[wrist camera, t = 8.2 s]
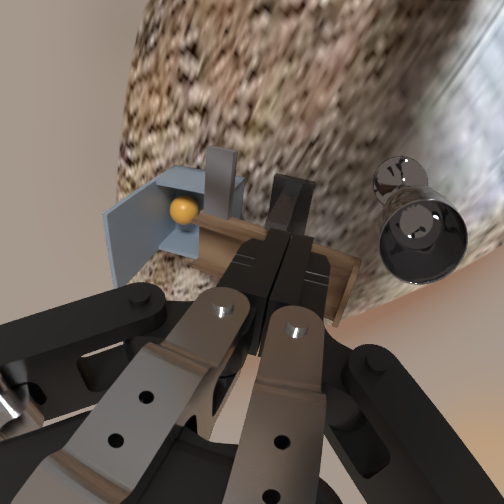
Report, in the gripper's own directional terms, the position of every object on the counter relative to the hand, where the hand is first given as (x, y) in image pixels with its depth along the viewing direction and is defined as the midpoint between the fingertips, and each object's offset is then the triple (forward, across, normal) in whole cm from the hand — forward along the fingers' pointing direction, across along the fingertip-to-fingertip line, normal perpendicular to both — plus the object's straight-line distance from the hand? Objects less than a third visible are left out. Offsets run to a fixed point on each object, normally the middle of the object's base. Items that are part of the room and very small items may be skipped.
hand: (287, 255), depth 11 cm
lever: (+20, +3, +10) cm, 23 cm away
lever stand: (+29, +3, +14) cm, 32 cm away
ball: (+26, +17, +14) cm, 34 cm away
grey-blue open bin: (+29, +14, +14) cm, 35 cm away
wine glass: (+29, -10, +5) cm, 31 cm away
